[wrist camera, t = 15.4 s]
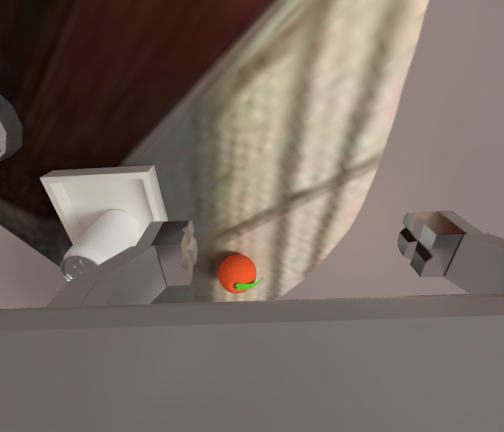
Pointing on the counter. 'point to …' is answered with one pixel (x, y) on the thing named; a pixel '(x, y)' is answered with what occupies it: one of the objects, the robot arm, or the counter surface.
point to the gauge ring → (9, 130)
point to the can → (100, 243)
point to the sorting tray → (104, 196)
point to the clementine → (237, 274)
